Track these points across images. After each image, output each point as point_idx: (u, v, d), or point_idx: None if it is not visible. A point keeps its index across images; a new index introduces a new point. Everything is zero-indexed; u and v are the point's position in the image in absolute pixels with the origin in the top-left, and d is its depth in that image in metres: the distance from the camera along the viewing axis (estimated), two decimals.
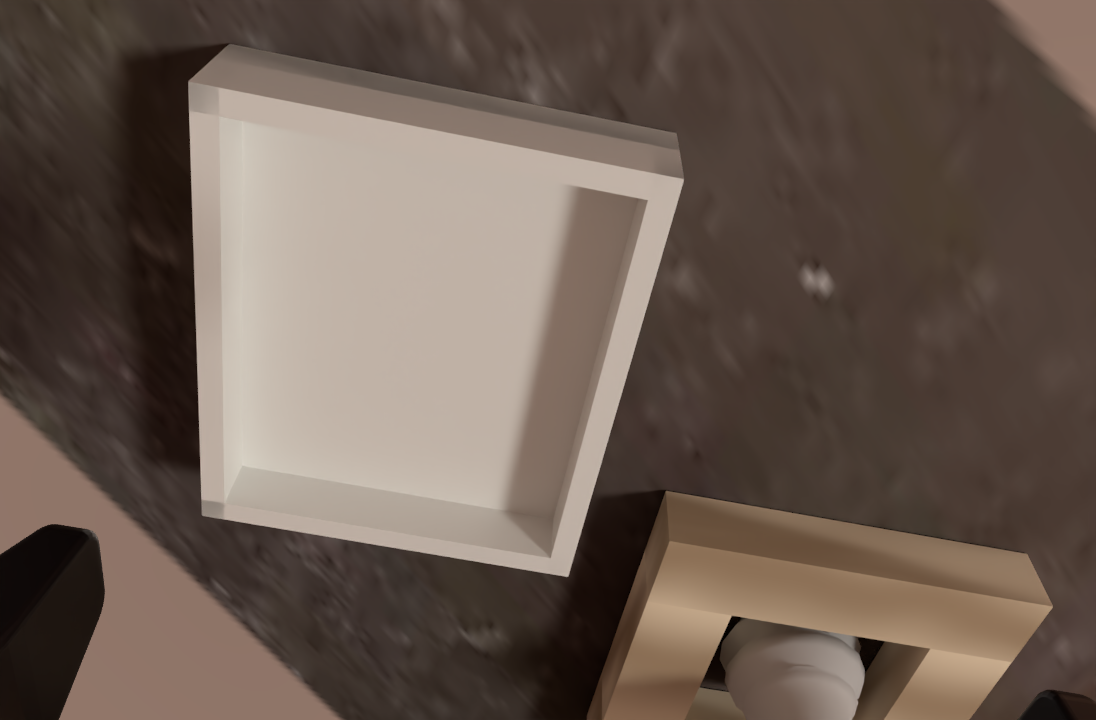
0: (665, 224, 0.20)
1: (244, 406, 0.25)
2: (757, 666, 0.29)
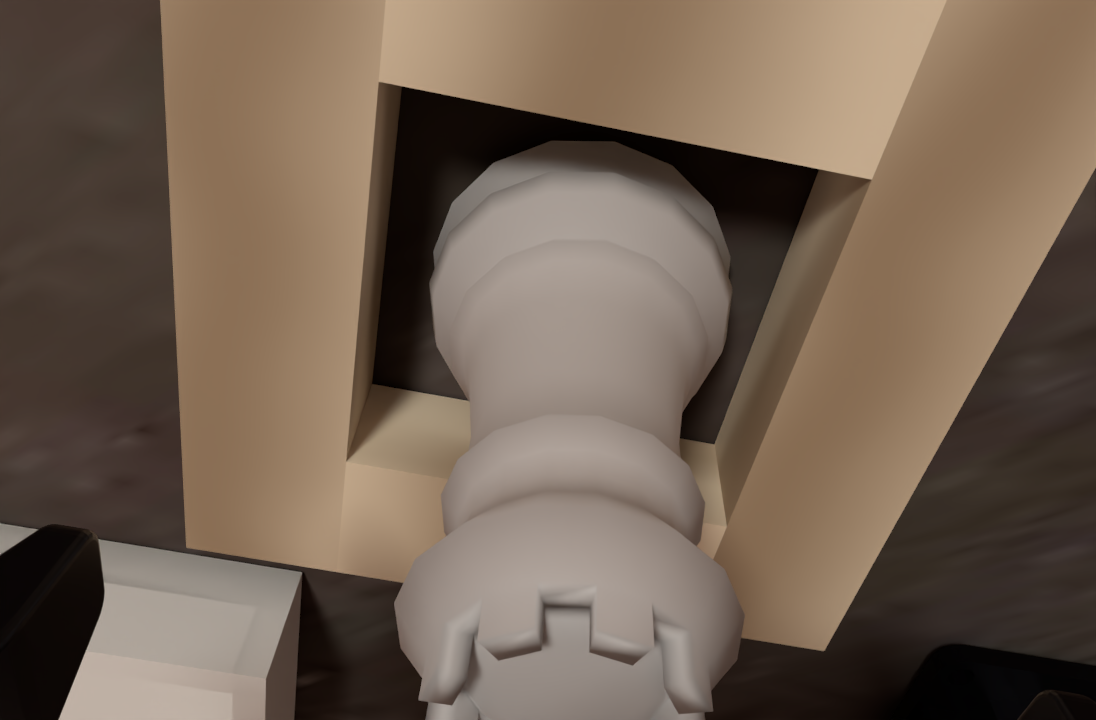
0: None
1: None
2: None
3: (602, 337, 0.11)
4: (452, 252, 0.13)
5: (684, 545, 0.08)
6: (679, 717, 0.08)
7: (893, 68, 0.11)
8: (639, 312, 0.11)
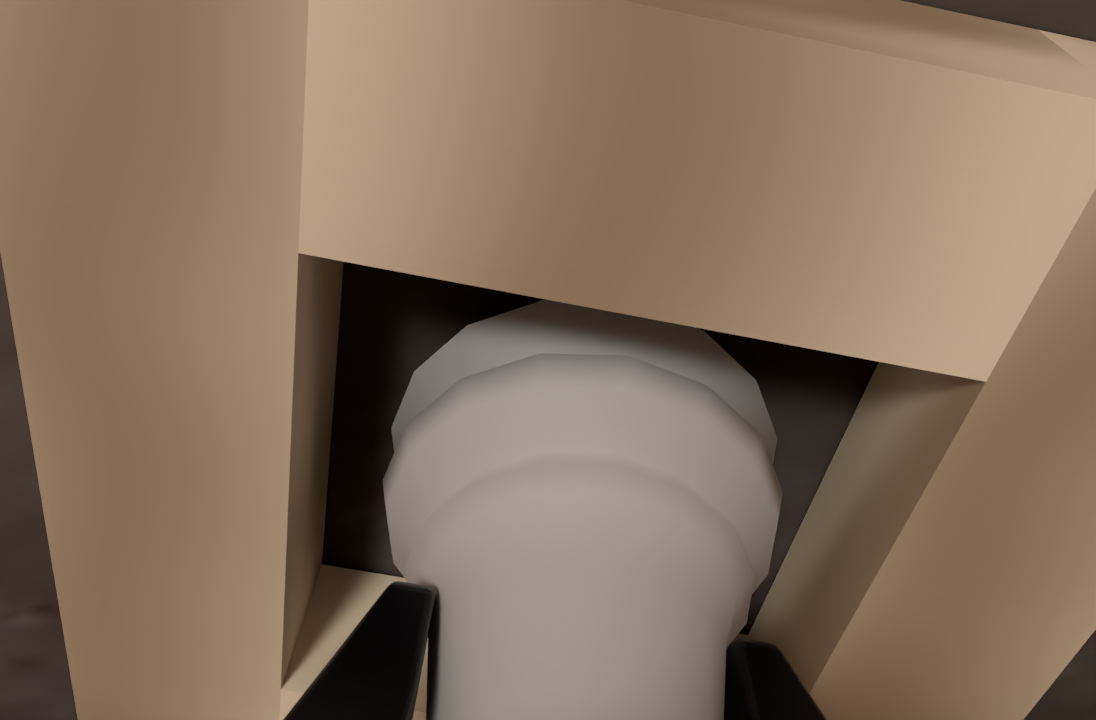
0: None
1: None
2: None
3: (612, 630, 0.07)
4: (409, 456, 0.09)
5: None
6: None
7: (1028, 243, 0.08)
8: (663, 575, 0.08)
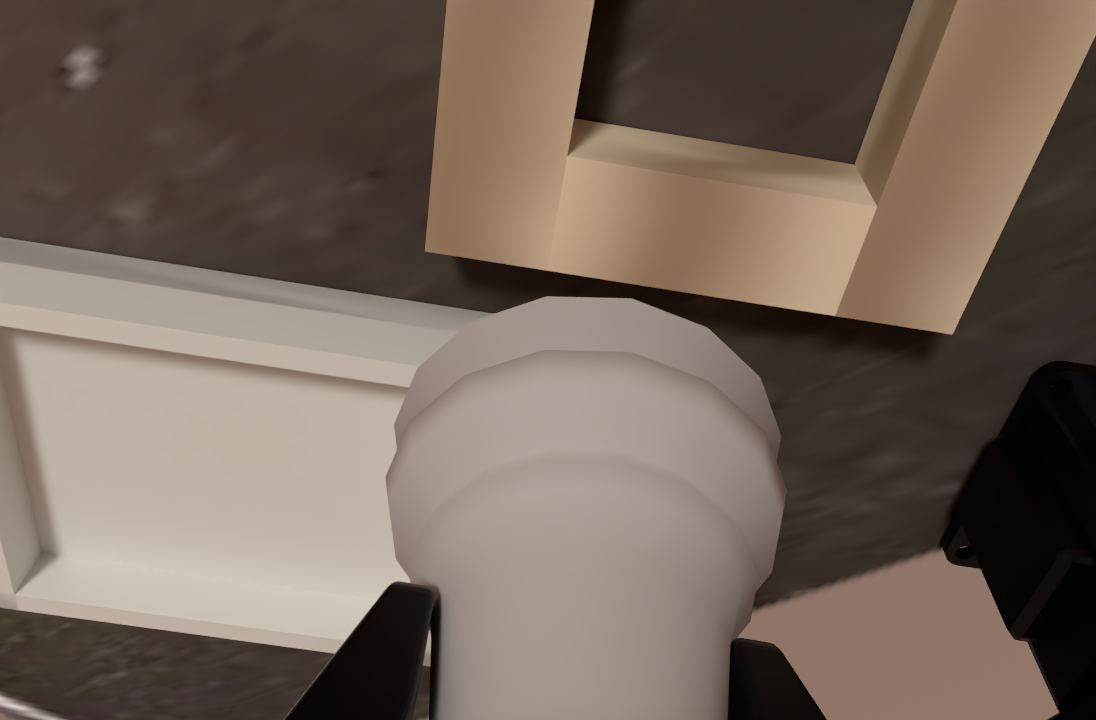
0: None
1: (360, 593, 0.27)
2: None
3: (616, 627, 0.07)
4: (412, 453, 0.09)
5: None
6: None
7: None
8: (667, 571, 0.08)
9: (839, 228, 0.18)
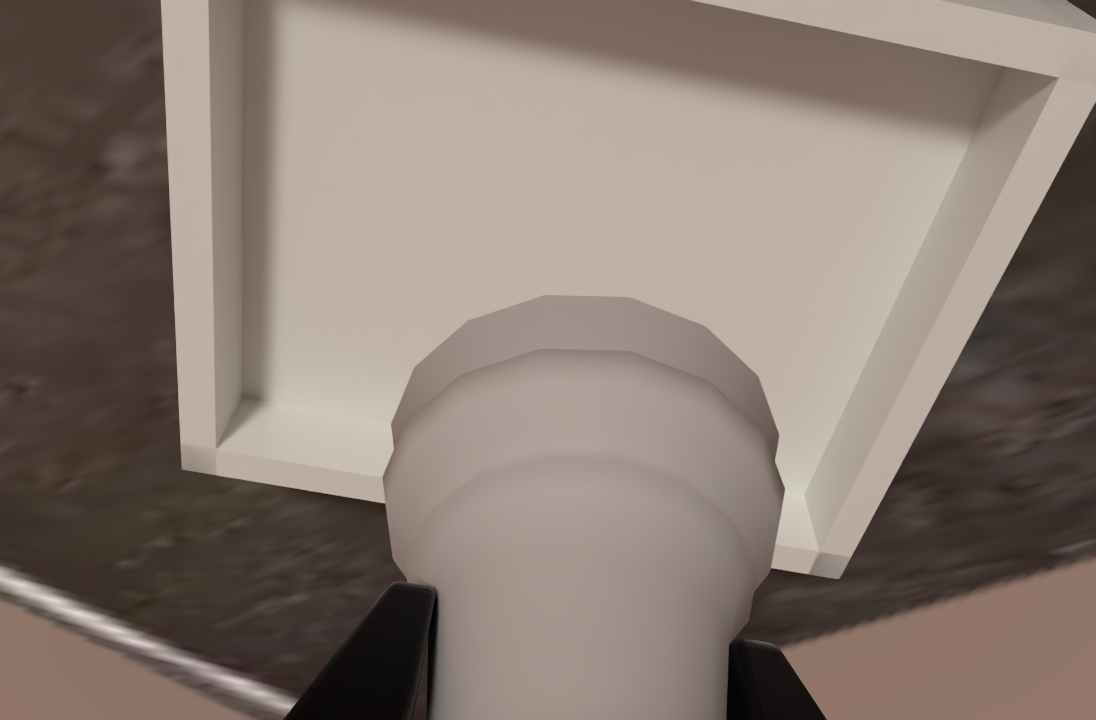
0: None
1: None
2: None
3: (615, 627, 0.07)
4: (409, 452, 0.09)
5: None
6: None
7: None
8: (666, 570, 0.08)
9: None
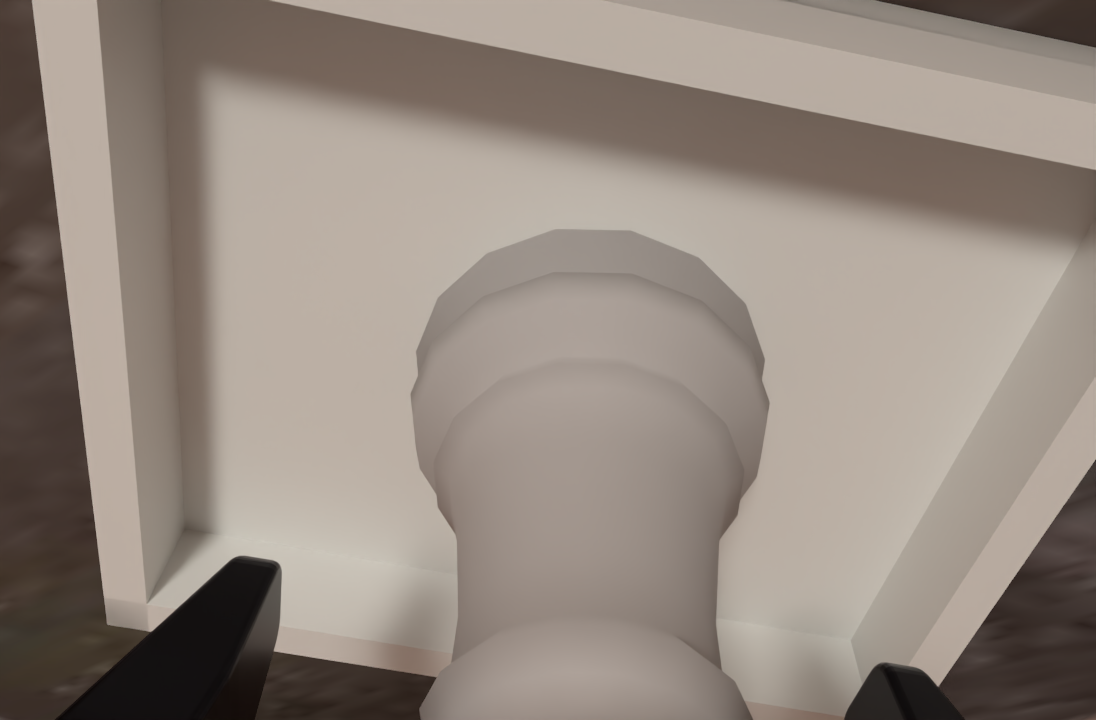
0: None
1: (731, 613, 0.15)
2: None
3: (621, 496, 0.09)
4: (437, 366, 0.11)
5: None
6: None
7: None
8: (664, 456, 0.09)
9: None
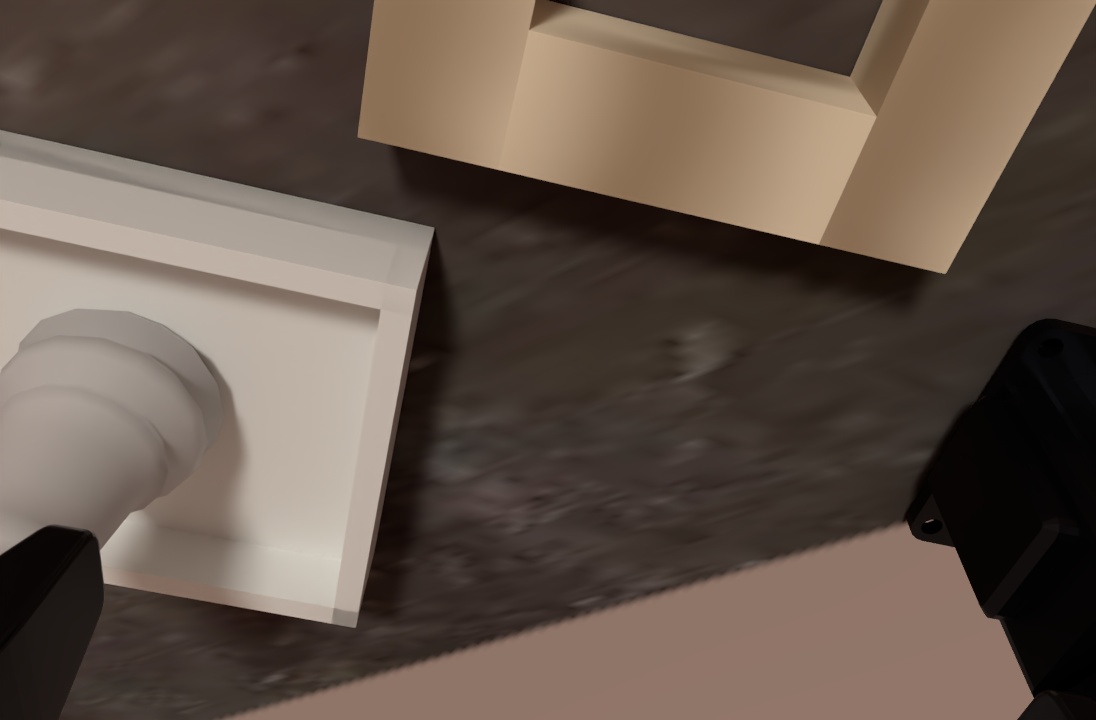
0: None
1: (269, 542, 0.24)
2: None
3: (45, 456, 0.17)
4: None
5: None
6: None
7: None
8: (86, 437, 0.18)
9: (831, 140, 0.16)
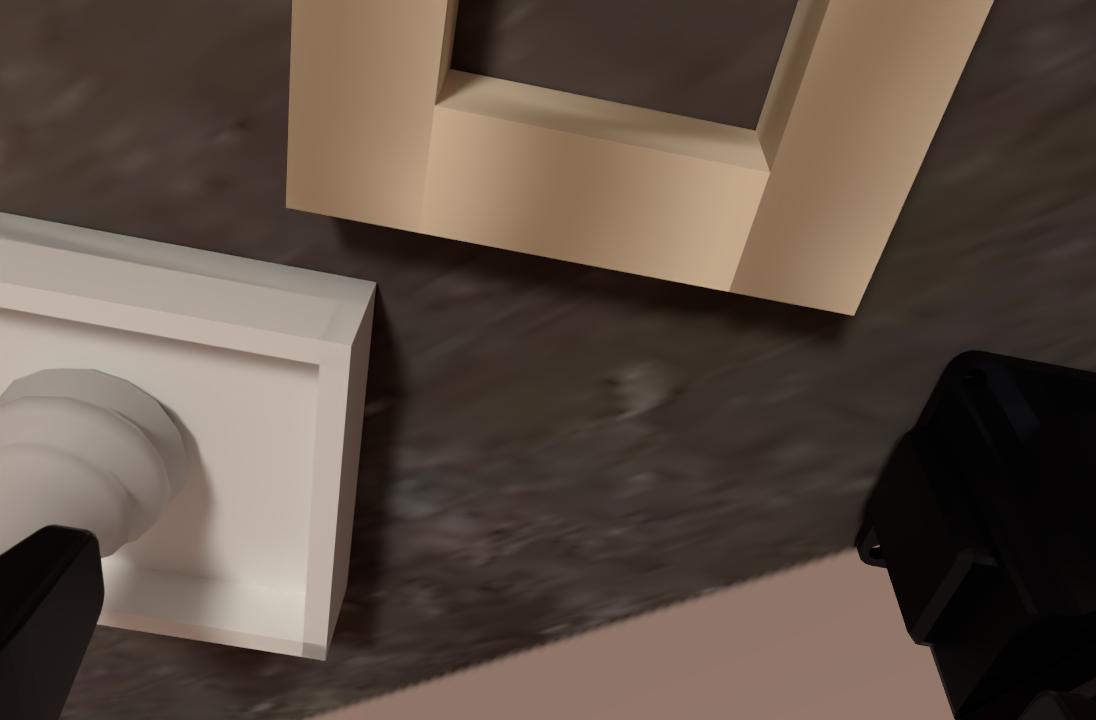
0: None
1: (244, 579, 0.25)
2: None
3: (10, 512, 0.18)
4: None
5: None
6: None
7: None
8: (49, 492, 0.19)
9: (729, 195, 0.17)
